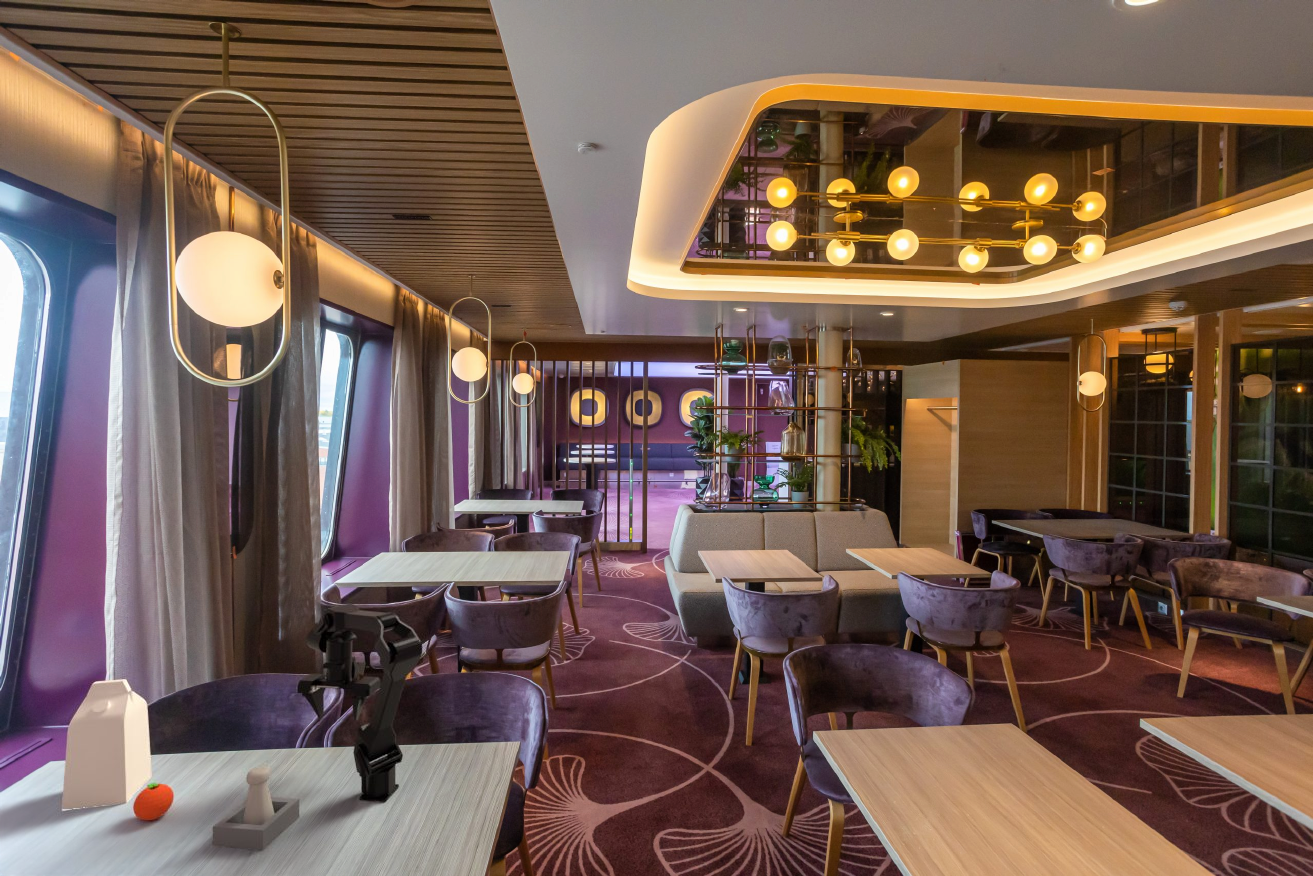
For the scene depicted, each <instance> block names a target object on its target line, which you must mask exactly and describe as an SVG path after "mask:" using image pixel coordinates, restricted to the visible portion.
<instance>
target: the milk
mask: <svg viewBox="0 0 1313 876" xmlns="http://www.w3.org/2000/svg"><path fill="white" fill-rule="evenodd" d="M149 726H150V725H149V711H148V703H147V701H146V700H145V698H143V697H142V696H141V695H139V694H137V692H135V691H134V690H132V687H131V686H130V685H129V683H128V681H127V679H126V678H124V679H111V680H99V681H95V682H93V683H92V684H91V686H90V688H89V689H88V692H87V694H86V696H85V698H84V699H83V700H82V702H81V704H80V705H79V707H78V709H77V711H76V712H75V713H74V715H73V717H72V718H71V720H70V722H69V725H68V726H67V732H66V733H67V734H66V735H67V736H66V748H65V763H64V775H63V776H64V777H63V788H62V789H63V790H62V799H61V800H62V801H61V810H62V809H73V808H83V807H85V809H87V808H86V807H93V808H95V807H94V806H101V807H103V806H102V805H109V806H115V805H116V806H117V805H123V804H127V803H129V801H130V800H131V799H132V798H133V797H134V796H135V795H136V794H137V793H138V792H139V790H140V789H142V787H143V786H144V785H145V784H146V783H147V782H148V781H149V780H150V779H151V778H152V774H153V773H152V760H151V746H150V745H151V744H150V742H151V741H150V728H149ZM137 791H138V792H137ZM136 792H137V793H136ZM135 793H136V794H135ZM134 794H135V795H134ZM133 795H134V796H133Z"/></svg>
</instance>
